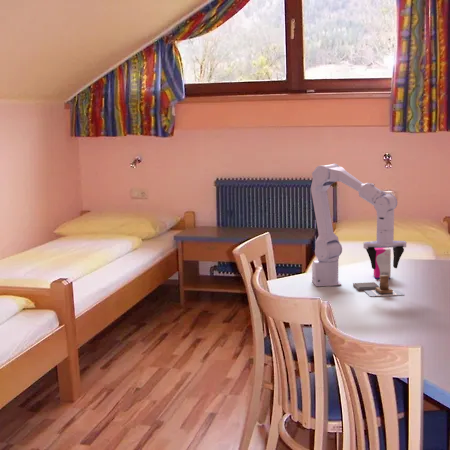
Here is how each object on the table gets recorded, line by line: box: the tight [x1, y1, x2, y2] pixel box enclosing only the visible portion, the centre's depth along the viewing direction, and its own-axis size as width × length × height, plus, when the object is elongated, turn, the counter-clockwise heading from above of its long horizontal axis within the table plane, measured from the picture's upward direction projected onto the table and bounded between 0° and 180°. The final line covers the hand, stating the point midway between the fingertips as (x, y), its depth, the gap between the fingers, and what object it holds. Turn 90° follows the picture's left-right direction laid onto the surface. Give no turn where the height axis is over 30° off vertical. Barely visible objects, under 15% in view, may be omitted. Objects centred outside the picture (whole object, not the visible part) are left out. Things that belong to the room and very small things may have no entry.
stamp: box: [376, 275, 394, 295], centre depth 241 cm, size 4×4×6 cm
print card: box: [364, 288, 405, 298], centre depth 241 cm, size 12×7×1 cm, turn 94°
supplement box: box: [373, 247, 392, 280], centre depth 263 cm, size 6×6×12 cm
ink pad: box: [352, 281, 380, 292], centre depth 249 cm, size 8×7×1 cm
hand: (384, 268), depth 240 cm, fingers open, 7 cm apart
